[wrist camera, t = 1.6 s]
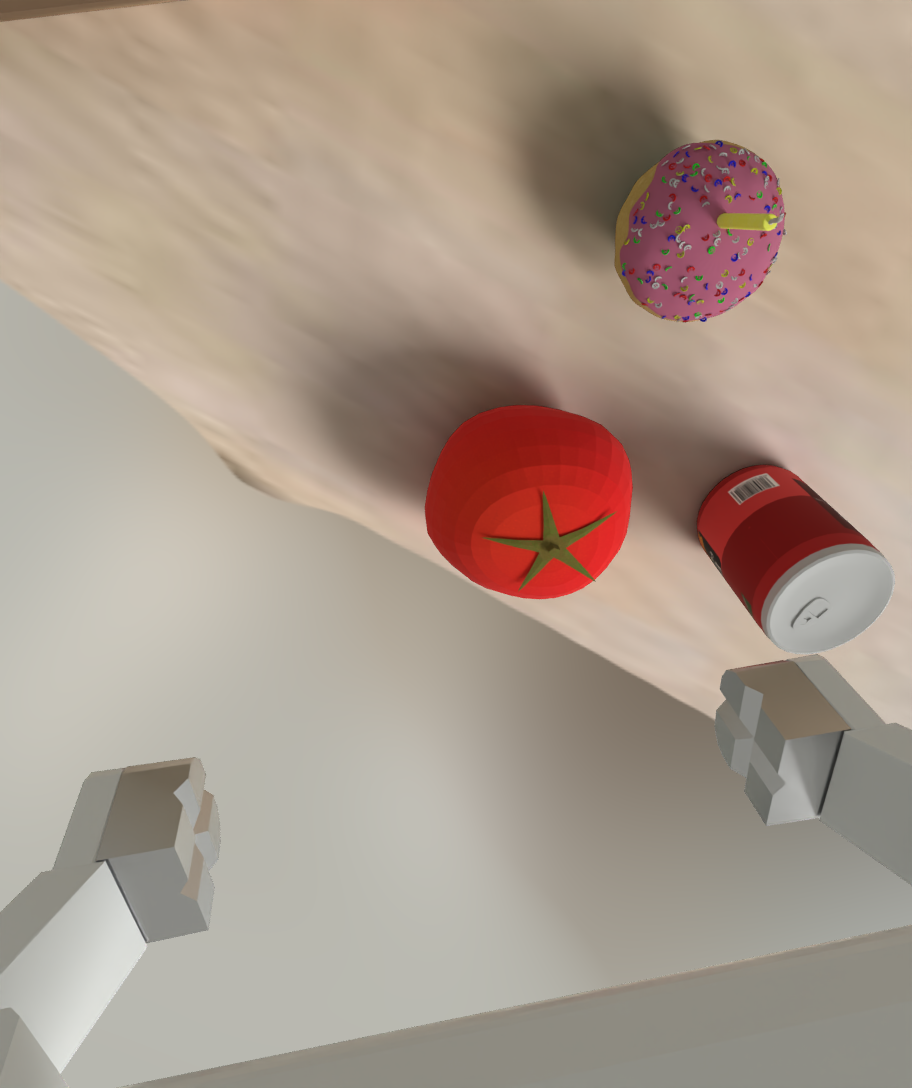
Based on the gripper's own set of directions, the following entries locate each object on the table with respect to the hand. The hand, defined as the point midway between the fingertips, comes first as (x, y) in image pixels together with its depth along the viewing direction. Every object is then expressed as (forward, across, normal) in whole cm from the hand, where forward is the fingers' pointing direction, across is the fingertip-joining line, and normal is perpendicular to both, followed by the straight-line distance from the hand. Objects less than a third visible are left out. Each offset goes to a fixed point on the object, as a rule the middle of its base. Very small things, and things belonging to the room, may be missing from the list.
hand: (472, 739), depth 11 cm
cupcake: (+34, -17, -2) cm, 38 cm away
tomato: (+35, -8, +12) cm, 38 cm away
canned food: (+35, -25, +18) cm, 46 cm away
